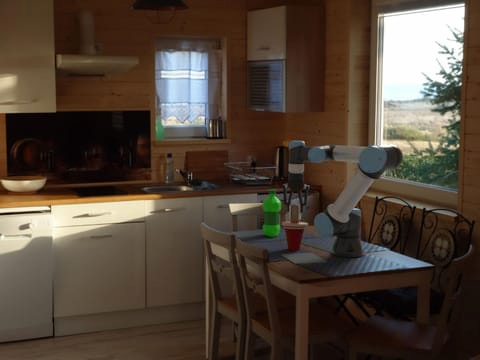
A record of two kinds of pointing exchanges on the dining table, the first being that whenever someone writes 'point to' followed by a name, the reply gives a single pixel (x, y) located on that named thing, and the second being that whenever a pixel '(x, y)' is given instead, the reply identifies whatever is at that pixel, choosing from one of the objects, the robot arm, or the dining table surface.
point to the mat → (303, 258)
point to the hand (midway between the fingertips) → (294, 218)
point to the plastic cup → (294, 237)
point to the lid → (294, 218)
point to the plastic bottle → (271, 214)
